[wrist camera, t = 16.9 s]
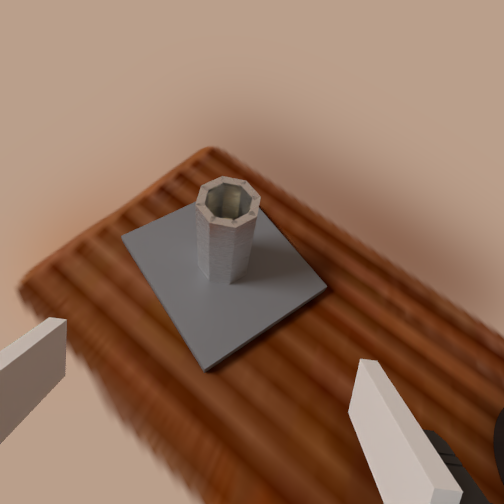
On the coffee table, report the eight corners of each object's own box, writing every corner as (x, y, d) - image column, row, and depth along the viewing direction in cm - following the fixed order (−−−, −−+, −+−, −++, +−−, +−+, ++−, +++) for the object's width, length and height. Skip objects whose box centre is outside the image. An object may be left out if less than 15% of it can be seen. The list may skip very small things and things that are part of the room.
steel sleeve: (257, 267, 44) (271, 208, 34) (217, 291, 42) (219, 236, 32) (230, 234, 46) (236, 169, 36) (190, 255, 44) (185, 192, 34)
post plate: (323, 291, 45) (349, 252, 37) (204, 372, 38) (203, 347, 30) (236, 189, 53) (241, 137, 44) (123, 242, 46) (104, 193, 38)
